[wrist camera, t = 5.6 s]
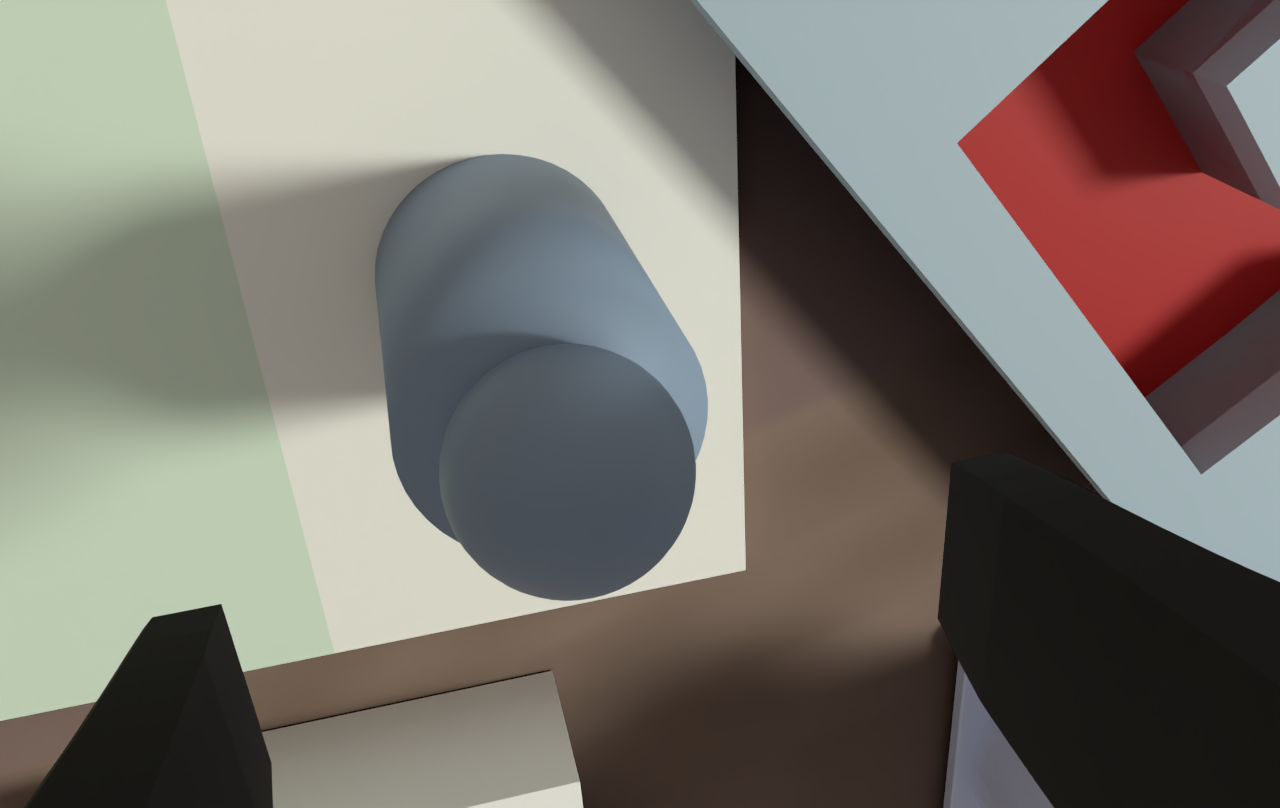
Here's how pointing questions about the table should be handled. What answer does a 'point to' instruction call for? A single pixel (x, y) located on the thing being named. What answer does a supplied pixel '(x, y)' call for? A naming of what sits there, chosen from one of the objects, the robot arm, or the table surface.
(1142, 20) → the maze game
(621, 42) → the pale green flat slab
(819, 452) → the table surface
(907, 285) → the table surface
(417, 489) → the pawn
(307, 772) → the dome housing
